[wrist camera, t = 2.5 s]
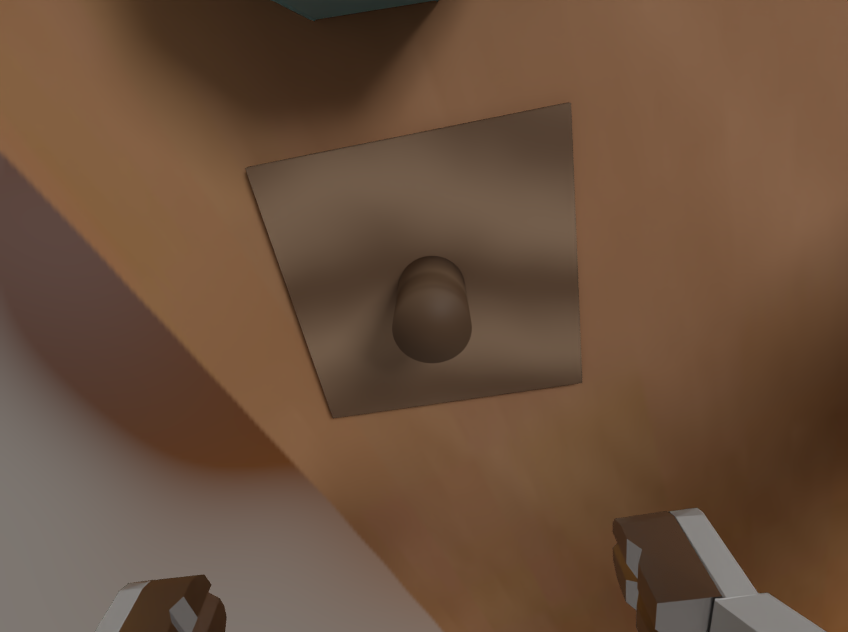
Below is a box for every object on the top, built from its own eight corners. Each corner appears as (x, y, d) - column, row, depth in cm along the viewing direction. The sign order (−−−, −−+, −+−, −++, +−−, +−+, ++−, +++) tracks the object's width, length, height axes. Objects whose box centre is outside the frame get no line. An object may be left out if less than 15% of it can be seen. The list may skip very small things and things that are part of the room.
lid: (576, 371, 24) (609, 437, 20) (336, 406, 25) (315, 475, 21) (564, 101, 18) (606, 108, 14) (253, 164, 20) (200, 189, 15)
